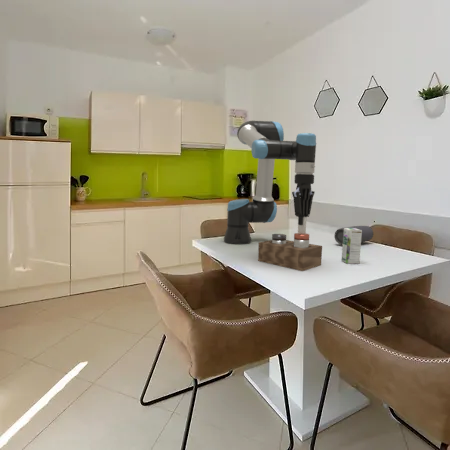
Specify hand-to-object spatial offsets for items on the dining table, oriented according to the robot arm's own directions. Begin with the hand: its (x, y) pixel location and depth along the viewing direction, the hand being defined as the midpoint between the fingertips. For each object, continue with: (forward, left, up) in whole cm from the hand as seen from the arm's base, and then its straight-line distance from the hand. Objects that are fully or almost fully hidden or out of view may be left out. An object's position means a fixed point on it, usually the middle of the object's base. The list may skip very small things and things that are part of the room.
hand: (301, 232), depth 139 cm
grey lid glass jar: (-11, 0, -12) cm, 16 cm away
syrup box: (+12, +21, -14) cm, 28 cm away
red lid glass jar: (0, 0, -11) cm, 11 cm away
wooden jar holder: (-5, 0, -13) cm, 15 cm away
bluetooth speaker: (-6, +62, -14) cm, 64 cm away
